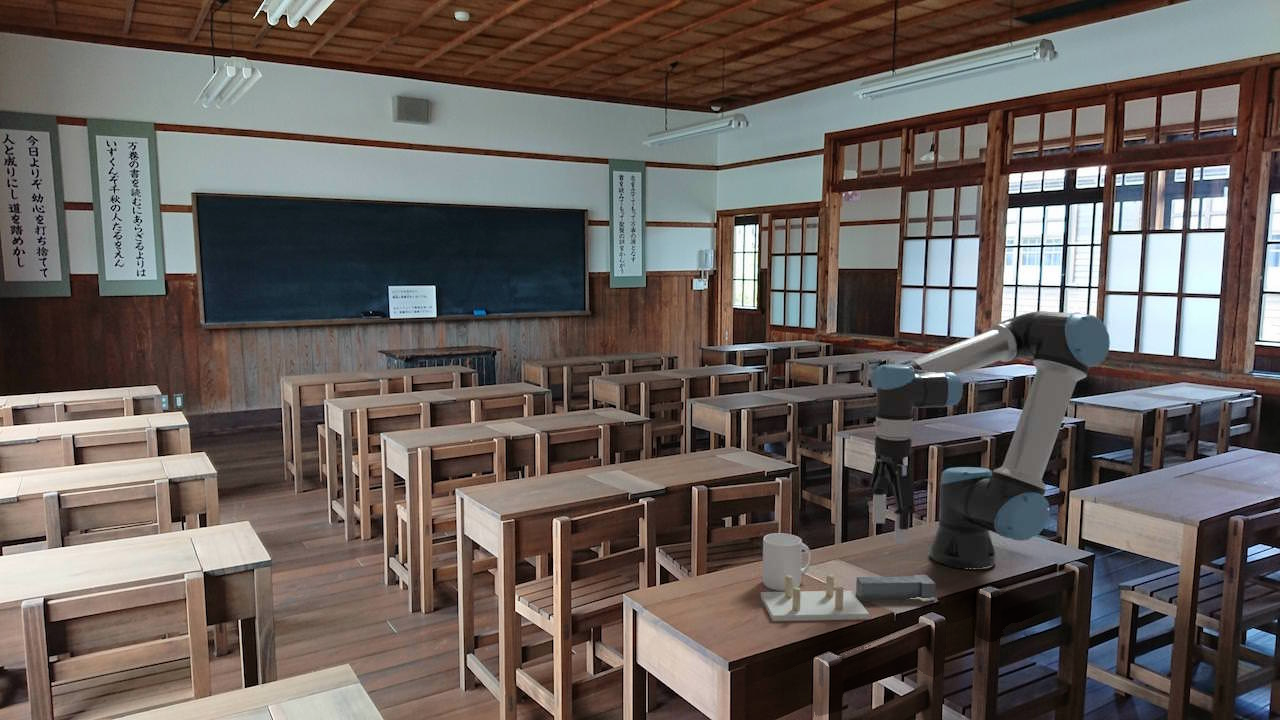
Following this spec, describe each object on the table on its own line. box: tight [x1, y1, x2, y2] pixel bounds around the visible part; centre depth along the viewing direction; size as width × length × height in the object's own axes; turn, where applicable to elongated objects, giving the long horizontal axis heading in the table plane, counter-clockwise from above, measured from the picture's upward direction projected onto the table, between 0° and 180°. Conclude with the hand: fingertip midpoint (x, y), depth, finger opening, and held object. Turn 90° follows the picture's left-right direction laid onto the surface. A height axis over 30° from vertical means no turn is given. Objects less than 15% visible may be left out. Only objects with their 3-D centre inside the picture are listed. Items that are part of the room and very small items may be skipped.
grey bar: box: [855, 574, 937, 602], centre depth 175 cm, size 16×5×4 cm, turn 93°
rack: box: [760, 574, 870, 622], centre depth 169 cm, size 20×12×6 cm, turn 93°
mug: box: [762, 532, 812, 592], centre depth 182 cm, size 9×12×11 cm
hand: (889, 532), depth 174 cm, fingers open, 13 cm apart
